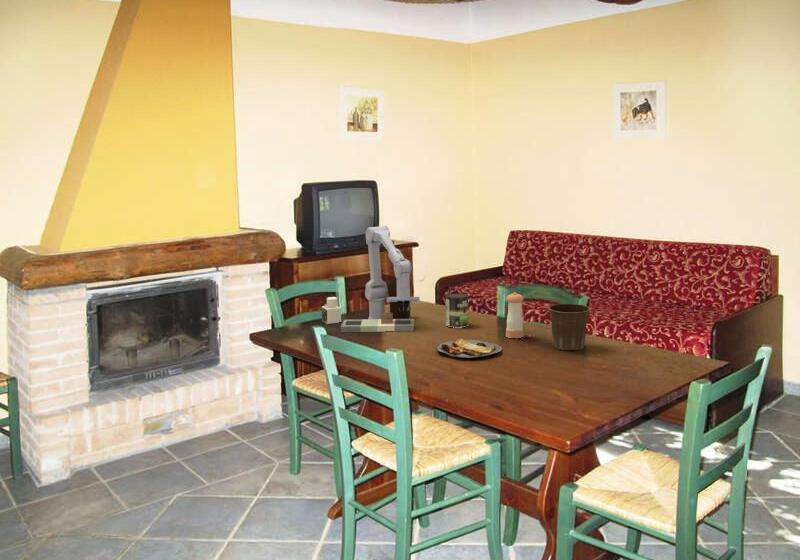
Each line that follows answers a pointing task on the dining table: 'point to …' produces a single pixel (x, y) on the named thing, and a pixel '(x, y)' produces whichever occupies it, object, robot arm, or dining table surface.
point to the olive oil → (393, 305)
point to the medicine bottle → (331, 310)
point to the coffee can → (457, 310)
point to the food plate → (468, 348)
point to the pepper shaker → (514, 316)
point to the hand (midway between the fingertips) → (403, 317)
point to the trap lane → (377, 325)
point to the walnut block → (386, 318)
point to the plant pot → (568, 325)
